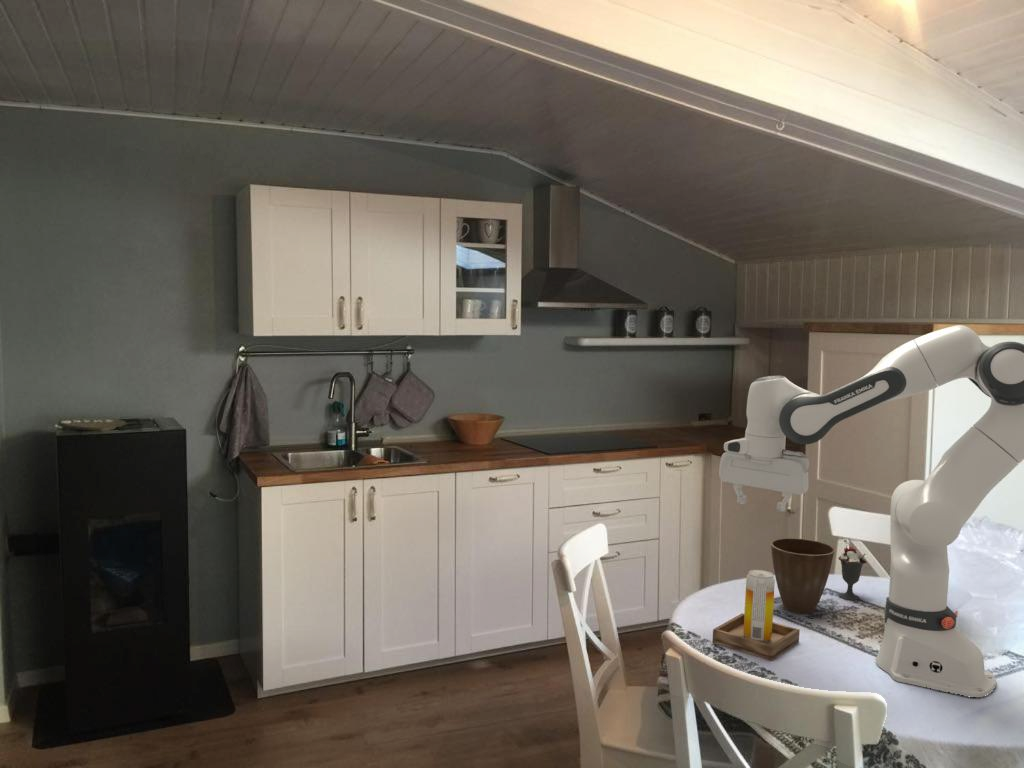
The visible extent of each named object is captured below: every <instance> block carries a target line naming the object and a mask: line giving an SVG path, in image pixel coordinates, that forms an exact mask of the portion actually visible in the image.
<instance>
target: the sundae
mask: <svg viewBox="0 0 1024 768" xmlns="http://www.w3.org/2000/svg"><path fill="white" fill-rule="evenodd" d="M843 542H844V543H845V544H846V545H848V546H849V547H848V546H846V547H845V548H844V549H843V552H842V553H841V555H840V556H839V557H837V559H838V560H839V561H840V565H841V576H842V577H841V578H842V579H843V581H844V582H845V583H846V584H847V590H846V591H845V592H842V593H840V594H839V597H840V598H842V599H844V600H847V601H858V600H860V598H861V597H860V596H859V595H857V594H854V591H853V586H854V585H855V584H856V583H858V582H859V581H860V577H861V572H862V567H863V565H864V564H867V561H866V559H864V557H865V556H866V553H864V554H862V556H861V555H860V554H861V553H860V552H859V551H858V550H857V549H856V548H854V547H853V546H851V545H850V544H849V542H848V541H847V540H844V539H843Z"/></svg>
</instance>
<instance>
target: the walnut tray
mask: <svg viewBox="0 0 1024 768" xmlns="http://www.w3.org/2000/svg"><path fill="white" fill-rule="evenodd" d="M743 631H744V613H740V614H738V615H736V616H734V617H733V618H731V619H729V620H727V621H726V622H724V623H722V624H720V625H719V626H716V627H715V628H713V629H712V643H713V642H714V643H713V644H716V643H717V645H720V646H723V647H727V648H728V649H729V648H730V649H733V650H736V651H739V652H743V653H745V654H749V655H752V656H755V657H758V658H762V659H765V660H768V661H771V662H772V661H774V660H776V659H777V658H778V657H780V656H781V655H783V654H785V652H787V651H788V650H790V649H791V648H793V647H794V646H796V645H797V644H799V643H800V633H801V631H800V629H799V628H796V627H793V626H789V625H786V624H785V625H784V624H781V623H778V622H774V621H772V637H771V639H770V640H769V641H768V642H766V643H762V642H758V641H755V640H752V639H748V638H746V637H745V636H744V634H743ZM798 642H799V643H798ZM795 644H796V645H795Z"/></svg>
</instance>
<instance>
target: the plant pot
mask: <svg viewBox="0 0 1024 768" xmlns="http://www.w3.org/2000/svg"><path fill="white" fill-rule="evenodd" d="M770 545H771V546H770V547H771V549H770V550H771V558H772V559H771V560H772V565H773V566H772V567H773V571H774V572H773V573H774V578H775V583H776V585H777V590H778V592H779V596H780V599H781V602H782V606H783V609H785V610H786V611H788V610H789V611H788V612H792V613H795V614H805V615H806V614H812V613H814V612H815V611H816V609H817V607H818V606H819V603H820V600H821V598H822V596H823V594H824V591H825V588H826V585H827V583H828V578H829V576H830V573H831V568H832V565H833V560H834V554H835V549H834V547H833V546H831V545H829V544H827V543H825V542H824V543H823V542H821V541H816V540H812V539H805V538H792V537H791V538H787V537H786V538H779V539H775V540H772V541H771V542H770Z"/></svg>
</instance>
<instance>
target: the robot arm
mask: <svg viewBox="0 0 1024 768" xmlns="http://www.w3.org/2000/svg"><path fill="white" fill-rule="evenodd" d="M965 378H967V379H968V380H969V381H970V382H972V383H973V384H974V385H975V386H976V387H977V388H978V389H979V390H980V391H981V392H982V393H983V394H984V395H986V396H987V397H989V398H990V400H991V401H990V405H989V408H988V409H987V411H986V412H985V413H984V414H983V415H982V416H981V417H980V418H979V419H978V420H977V421H976V422H975V423H974V424H973V425H972V426H971V427H970V428H969V429H967V431H966V432H965V433H963V434H962V436H961V437H959V438H958V439H957V440H956V441H955V442H954V443H953V444H952V445H950V447H948V449H947V450H946V451H945V452H944V453H943V454H942V456H941V458H940V460H939V461H938V463H937V465H936V466H935V468H933V470H932V471H931V473H930V474H929V476H928V477H927V478H926V479H925V480H922V479H910V480H907V481H904V482H902V483H900V484H898V486H896V488H895V489H894V491H893V493H892V495H891V498H890V519H889V521H890V523H889V524H890V526H889V527H890V570H889V571H890V573H889V574H890V576H889V586H888V587H889V589H888V596H887V597H886V598H885V599H886V600H885V605H884V625H885V626H884V631H883V635H882V639H881V640H882V641H881V644H880V646H879V649H878V653H877V655H876V657H875V663H876V665H877V666H878V667H879V668H881V669H882V670H884V671H885V672H886V673H888V674H889V676H890V677H891V678H892V679H893V680H894V681H896V682H900V683H904V684H909V685H912V686H914V685H915V686H919V687H923V688H926V687H927V688H926V689H930V688H931V689H930V690H934V691H939V690H940V691H941V692H946V693H948V692H950V693H949V694H953V693H956V694H955V695H957V694H960V695H959V696H961V695H964V696H963V697H966V696H970V697H981V698H983V697H982V696H985V695H987V694H989V693H990V694H992V693H993V692H994V690H995V689H994V688H996V687H995V686H997V679H996V676H995V675H994V674H993V673H992V672H990V671H987V670H985V661H984V660H985V659H984V656H983V653H982V650H981V649H980V648H979V647H978V645H976V644H975V643H974V642H973V641H971V639H969V638H968V637H967V636H966V635H965V634H964V633H963V632H962V631H961V630H960V629H959V628H958V627H957V626H956V625H957V617H958V613H959V611H958V610H956V611H953V610H952V609H951V608H950V607H948V603H947V602H948V593H949V581H950V580H949V579H950V566H949V558H948V557H949V555H948V546H949V545H951V544H953V543H954V542H955V541H956V540H957V539H958V537H959V535H960V534H961V530H962V529H963V526H964V525H965V524H966V523H967V522H968V521H969V519H970V518H971V517H972V515H973V514H974V513H975V511H976V510H977V508H978V507H979V506H980V505H981V503H982V501H983V500H985V498H986V497H987V496H988V494H989V493H990V492H991V491H992V490H993V489H994V488H995V487H996V486H997V485H998V484H1000V482H1001V481H1003V480H1004V479H1005V478H1006V477H1007V476H1008V475H1009V474H1010V473H1011V472H1012V471H1013V470H1014V469H1015V468H1016V467H1018V465H1019V464H1020V463H1021V462H1022V461H1024V343H1021V342H1016V341H1004V342H999V343H996V344H994V345H992V346H989V345H986V344H984V342H983V341H982V340H981V338H980V336H979V335H978V333H977V332H975V331H974V330H973V329H972V328H970V327H968V326H966V325H961V324H958V325H957V324H956V325H951V326H948V327H945V328H941V329H937V330H934V331H931V332H929V333H926V334H923V335H921V336H918V337H917V338H914V339H912V340H909V341H907V342H905V343H903V344H901V345H900V346H898V347H897V348H895V349H893V350H892V351H890V352H888V353H887V354H886V355H885V356H883V357H882V358H881V359H880V360H879V362H878V363H877V364H876V365H875V366H874V367H873V368H872V369H871V370H870V371H869V372H867V373H866V374H865V375H864V376H862V377H860V378H858V379H856V380H854V381H852V382H850V383H847V384H845V385H843V386H841V387H839V388H836V389H834V390H833V391H830V392H828V393H825V394H818V393H817V392H816V393H815V392H812V391H810V390H807V389H804V388H803V387H800V386H798V385H796V384H794V383H793V382H792V381H790V380H789V379H788V378H787V377H786V376H783V375H768V376H763V377H758V378H756V379H755V380H753V382H752V383H751V384H750V386H749V389H748V394H747V400H746V401H747V402H746V419H747V426H746V429H745V433H744V437H740V438H737V439H732V440H729V441H726V442H724V444H723V450H724V451H725V452H724V453H722V455H721V456H720V462H719V467H718V468H719V469H718V478H719V479H720V481H721V482H723V483H730V484H733V486H732V487H733V490H734V492H735V495H736V496H737V499H736V503H737V504H739V505H740V504H741V505H746V504H747V499H748V498H747V495H745V494H744V492H743V490H742V488H743V487H744V486H748V487H752V488H758V489H765V490H769V491H770V490H771V491H776V492H780V493H781V497H783V499H782V501H778V502H777V503H776V511H777V512H783V513H784V512H786V508H787V503H788V502H789V501H790V499H791V498H792V496H793V495H798V496H799V495H803V494H805V493H807V491H809V483H810V482H809V480H810V479H809V469H810V459H809V457H808V456H807V455H806V454H804V452H801V451H793V450H788V449H786V440H787V439H789V441H791V442H793V443H795V444H799V445H811V444H815V443H817V442H819V441H820V440H822V439H823V438H824V437H825V436H826V435H827V434H828V432H830V430H831V429H832V428H833V427H835V425H836V424H839V423H840V422H842V421H844V420H846V419H848V418H850V417H853V416H856V415H857V414H859V413H861V412H864V411H866V410H869V409H871V408H873V407H875V406H877V405H880V404H884V403H887V402H891V401H895V400H900V399H905V398H909V397H912V396H917V395H919V394H920V395H921V394H922V393H926V392H928V391H931V390H934V389H936V388H938V387H942V386H943V385H946V384H948V383H950V382H953V381H956V380H958V379H965ZM786 438H787V439H786ZM993 689H994V690H993ZM991 692H992V693H991ZM990 694H989V695H990ZM987 696H988V695H987ZM970 697H969V698H970ZM985 697H986V696H985Z"/></svg>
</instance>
